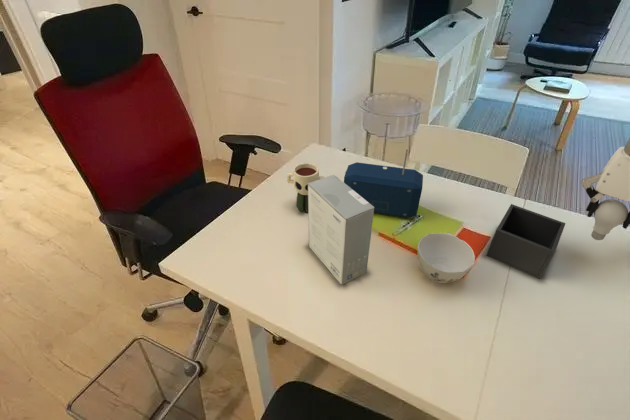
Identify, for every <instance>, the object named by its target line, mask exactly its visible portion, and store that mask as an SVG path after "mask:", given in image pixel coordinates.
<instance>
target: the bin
mask: <svg viewBox="0 0 630 420" xmlns="http://www.w3.org/2000/svg"><path fill="white" fill-rule="evenodd" d="M565 227H566V222H564V221H560V220H558V219H555V218H552V217H550V216H546V215H544V214H541V213H538V212H535V211H532V210H530V209H526V208H524V207H521V206H518V205H515V204H513V203H510V205H509V207H508V209H507V210H506V212H505V214H504V216H503V218H502V219H501V220H500V222H499V224H498V226H497V227H496V229H495V232H494V235H493V236H492V239H491V242H490V244H489V247H488V249H487V252H486V254H485V256H486V257H488V258H490V259H493V260H495V261H496V262H499V263H502V264H504V265H506V266H508V267H511V268H513V269H515V270H518V271H520V272H522V273H525V274H527V275H529V276H532V277H534V278H537V279H538V280H541V278H542V277H543V274H544V272H545V271H546V269H547V267H548V265H549V264H550V262H551V260H552V259H553V257H554V255H555V253H556V252H557V251H556V250H557V248H558V245H559V242H560V240H561V237H562V235H563V232H564V229H565Z"/></svg>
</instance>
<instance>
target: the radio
mask: <svg viewBox="0 0 630 420" xmlns="http://www.w3.org/2000/svg"><path fill="white" fill-rule="evenodd" d="M408 152H409V149H405V155H404V160H403V167H396V166H388V165H381V164H373V163H365V162H354V163H351V164H348V165H347V168H346V171H345V173H344V177H343V182H344V183H345V184H346V185H347V186H349V187H350V188H351V189H352V190H354V191H355V192H356V193H358V194H359V195H360V196H361V197H362V198H364V199H365V200H366V201H367V202H369V203H370V204H371V205H372V206H373V207H375V208H374V214H376V215H380V216H381V215H383V216H389V217H394V218H395V217H396V218H402V219H411V218H414V217H417V215H418V210H419V205H420V201H421V197H422V192H423V183H424V175H423V174H422V172H420V171H418V170H416V169H413V168H406V163H407V158H408Z"/></svg>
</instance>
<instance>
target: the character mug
mask: <svg viewBox="0 0 630 420" xmlns="http://www.w3.org/2000/svg"><path fill="white" fill-rule="evenodd" d="M291 177H293V179H292V178H291ZM325 177H326V176H323V175H320V168H319V167H318V166H317V165H316V164H314V163H310V162H302V163H299V164H297V165H295V166H294V167H293V171H292V172H287V173H286V178H287V183H288V184H293V188H294V190H295V192H296V205H295V206H296V209H297V210H298V211H299V212H304V210H305V212H306V213H308V183H311V182H314V181H316V180H319V179H322V178H325Z"/></svg>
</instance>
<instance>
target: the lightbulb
mask: <svg viewBox="0 0 630 420" xmlns="http://www.w3.org/2000/svg"><path fill="white" fill-rule="evenodd" d="M628 213H629V209H628V206H626V204H625V203H623V202H622V201H620V200H619V199H618V200H617V199H613V198H612V199H611V198H610V199H605V200H602V201H599V203H598V205H597V207H596V209H595V211H594V213H593V216H594V217H593V218H594V225H593V227H592V229H593V230H592V231H591V234H590V236H591V238H592V239H594V240H595V241H603V240H604V239H605V237H606V236H607V235H608V234H609V233H610V232H611V231H612V230H613V229H614V228H616V227H618V226H620V225H623V222H624V221H626V219H627V217H628Z"/></svg>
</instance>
